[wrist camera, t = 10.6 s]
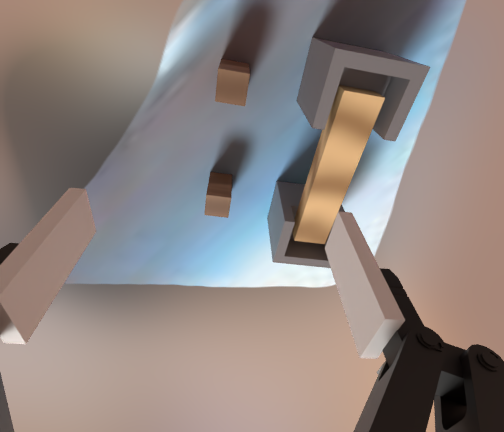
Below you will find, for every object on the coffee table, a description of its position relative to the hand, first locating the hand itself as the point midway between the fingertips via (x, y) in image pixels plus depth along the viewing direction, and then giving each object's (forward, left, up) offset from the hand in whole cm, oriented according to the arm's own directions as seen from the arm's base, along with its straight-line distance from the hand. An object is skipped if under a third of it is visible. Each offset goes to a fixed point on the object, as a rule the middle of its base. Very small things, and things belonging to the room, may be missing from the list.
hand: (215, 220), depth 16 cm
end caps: (+4, +12, -24) cm, 27 cm away
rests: (+4, 0, -24) cm, 24 cm away
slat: (+4, +12, -18) cm, 22 cm away
